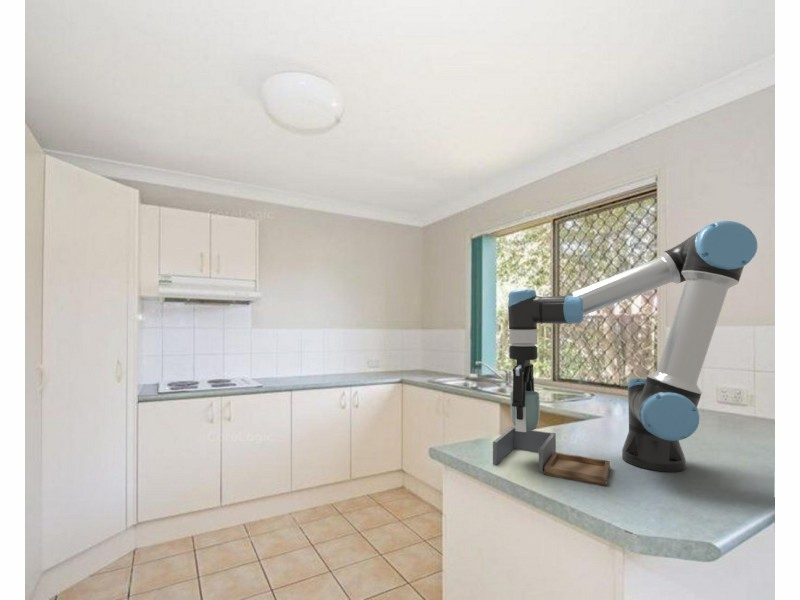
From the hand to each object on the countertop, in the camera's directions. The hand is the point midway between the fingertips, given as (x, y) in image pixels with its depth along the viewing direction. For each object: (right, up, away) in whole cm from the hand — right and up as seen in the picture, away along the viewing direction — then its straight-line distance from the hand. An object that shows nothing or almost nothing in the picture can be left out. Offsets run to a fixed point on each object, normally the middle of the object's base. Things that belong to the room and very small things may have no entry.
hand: (524, 427), depth 115 cm
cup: (0, -1, 0) cm, 1 cm away
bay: (0, -9, +1) cm, 10 cm away
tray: (+12, -9, -7) cm, 16 cm away
